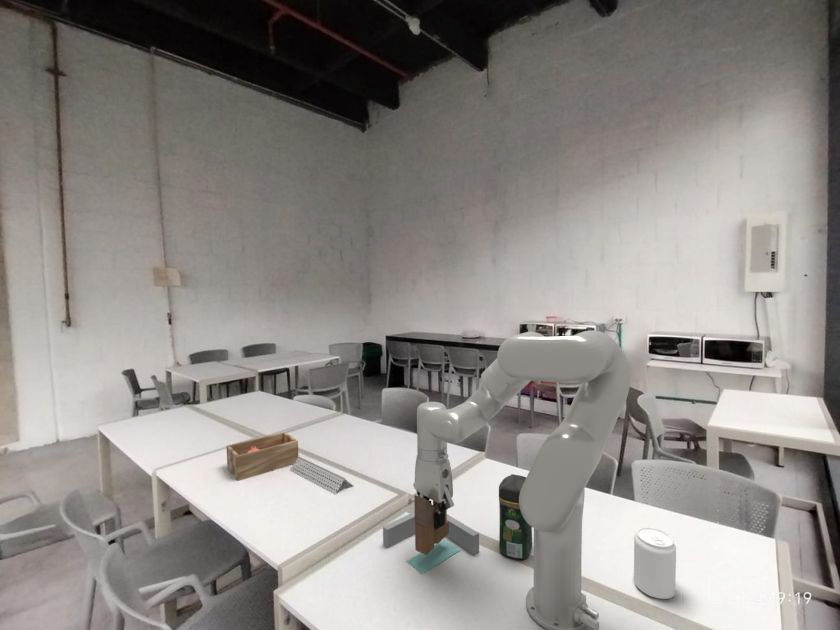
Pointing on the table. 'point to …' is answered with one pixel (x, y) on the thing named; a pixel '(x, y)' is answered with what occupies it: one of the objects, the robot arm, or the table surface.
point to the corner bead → (324, 471)
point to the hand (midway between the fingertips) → (432, 521)
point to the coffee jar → (513, 520)
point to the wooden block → (427, 526)
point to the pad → (433, 556)
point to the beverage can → (654, 562)
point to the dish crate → (261, 455)
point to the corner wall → (456, 533)
